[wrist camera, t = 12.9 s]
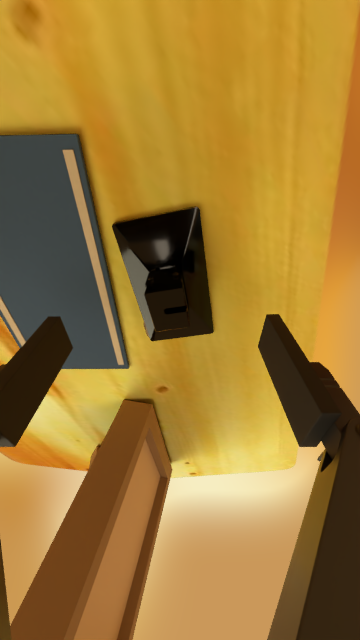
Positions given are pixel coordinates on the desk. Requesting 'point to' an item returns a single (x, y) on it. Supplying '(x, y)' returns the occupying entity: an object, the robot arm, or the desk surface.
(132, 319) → the desk surface
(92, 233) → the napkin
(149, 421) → the photo frame
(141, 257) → the build plate
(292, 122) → the desk surface
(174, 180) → the desk surface
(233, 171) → the desk surface
